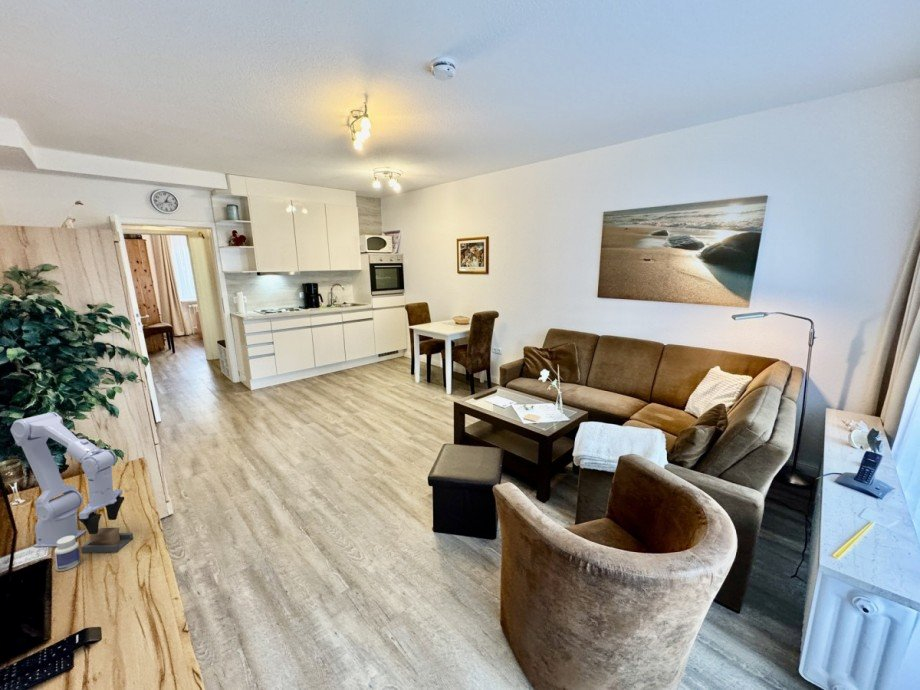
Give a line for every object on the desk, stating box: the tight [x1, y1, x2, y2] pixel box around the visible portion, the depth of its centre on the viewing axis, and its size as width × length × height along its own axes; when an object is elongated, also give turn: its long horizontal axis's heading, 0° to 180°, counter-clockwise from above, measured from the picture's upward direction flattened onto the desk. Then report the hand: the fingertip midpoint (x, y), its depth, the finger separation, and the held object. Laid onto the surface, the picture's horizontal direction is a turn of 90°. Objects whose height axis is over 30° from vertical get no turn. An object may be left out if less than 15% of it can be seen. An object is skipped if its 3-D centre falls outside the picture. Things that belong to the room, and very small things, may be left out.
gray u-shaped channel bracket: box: [80, 532, 134, 554], centre depth 125 cm, size 10×7×2 cm, turn 96°
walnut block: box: [90, 527, 120, 545], centre depth 125 cm, size 6×4×5 cm, turn 96°
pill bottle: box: [53, 535, 81, 572], centre depth 115 cm, size 5×5×9 cm
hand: (103, 526), depth 124 cm, fingers open, 7 cm apart
